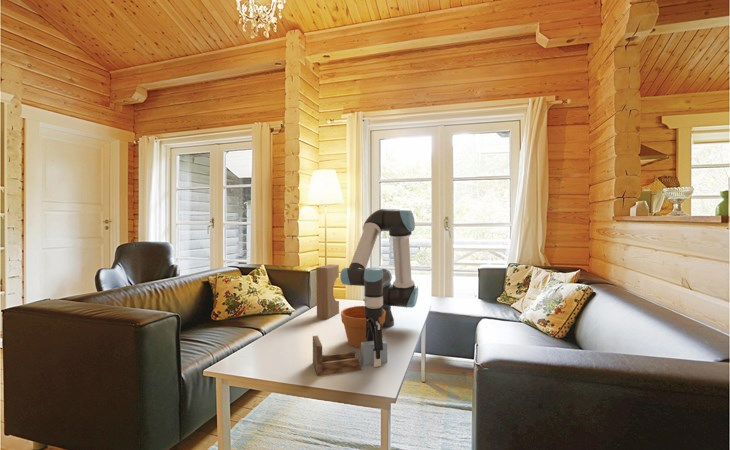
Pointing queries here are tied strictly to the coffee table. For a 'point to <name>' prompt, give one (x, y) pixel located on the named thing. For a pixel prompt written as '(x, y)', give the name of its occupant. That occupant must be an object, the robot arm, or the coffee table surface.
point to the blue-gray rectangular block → (372, 353)
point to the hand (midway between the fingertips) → (373, 361)
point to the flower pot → (356, 324)
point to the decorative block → (326, 291)
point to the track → (333, 360)
